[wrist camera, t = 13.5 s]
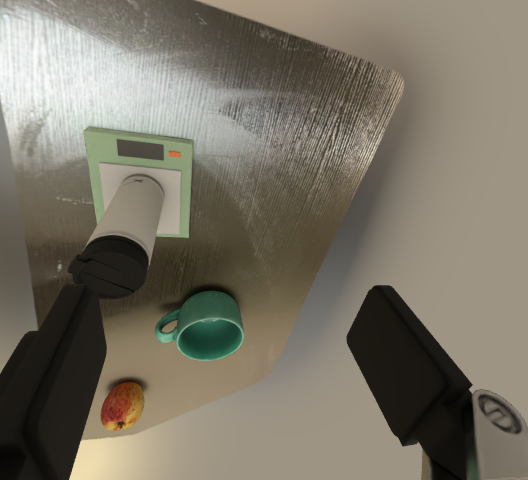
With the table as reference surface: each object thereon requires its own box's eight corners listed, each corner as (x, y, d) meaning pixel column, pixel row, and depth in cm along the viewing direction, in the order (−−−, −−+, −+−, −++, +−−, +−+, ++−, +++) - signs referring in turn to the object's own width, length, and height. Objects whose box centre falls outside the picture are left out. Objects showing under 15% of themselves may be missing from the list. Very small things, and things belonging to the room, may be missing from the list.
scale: (88, 126, 39) (81, 131, 37) (193, 140, 43) (192, 145, 41) (102, 227, 48) (97, 235, 45) (188, 231, 51) (188, 239, 49)
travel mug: (131, 163, 40) (87, 240, 24) (172, 190, 44) (158, 274, 27) (109, 195, 42) (53, 287, 26) (150, 219, 45) (123, 314, 29)
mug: (244, 284, 61) (251, 319, 53) (231, 325, 67) (236, 361, 59) (162, 278, 56) (156, 315, 48) (156, 322, 62) (150, 361, 54)
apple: (129, 370, 69) (120, 413, 60) (155, 384, 74) (150, 426, 65) (99, 386, 70) (86, 431, 62) (127, 399, 75) (118, 442, 67)
